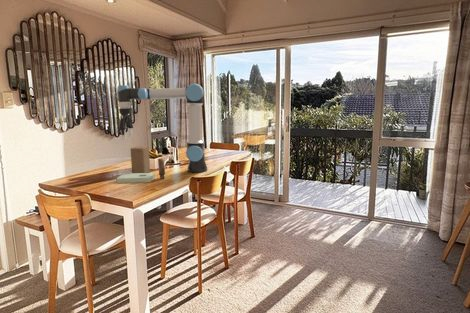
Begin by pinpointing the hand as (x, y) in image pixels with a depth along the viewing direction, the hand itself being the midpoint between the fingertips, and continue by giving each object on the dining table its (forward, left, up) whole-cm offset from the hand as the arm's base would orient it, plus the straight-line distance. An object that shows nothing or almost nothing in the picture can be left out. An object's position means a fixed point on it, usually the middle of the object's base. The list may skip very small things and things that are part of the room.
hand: (127, 138), depth 212 cm
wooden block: (-6, -6, -28) cm, 29 cm away
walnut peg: (-25, +10, -27) cm, 39 cm away
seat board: (-8, +12, -27) cm, 31 cm away
